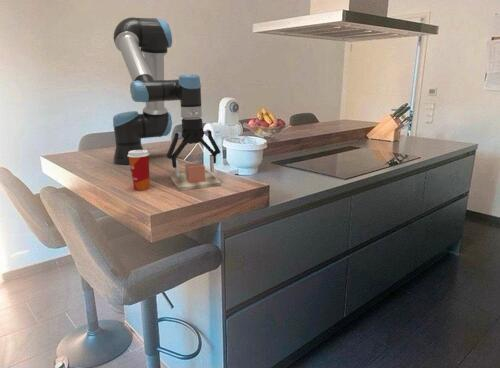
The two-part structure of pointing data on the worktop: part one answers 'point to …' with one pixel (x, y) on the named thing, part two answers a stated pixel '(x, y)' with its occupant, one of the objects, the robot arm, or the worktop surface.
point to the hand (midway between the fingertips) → (195, 173)
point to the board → (185, 185)
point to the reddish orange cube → (195, 172)
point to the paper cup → (139, 169)
